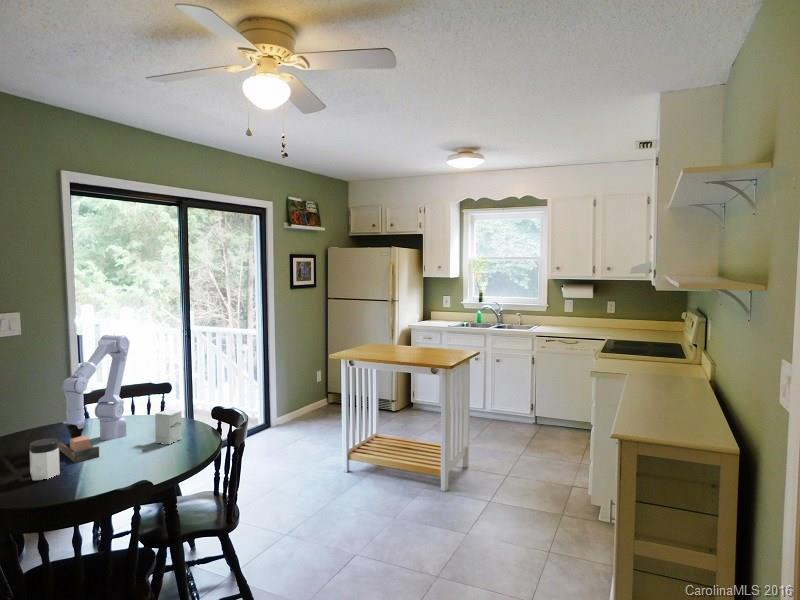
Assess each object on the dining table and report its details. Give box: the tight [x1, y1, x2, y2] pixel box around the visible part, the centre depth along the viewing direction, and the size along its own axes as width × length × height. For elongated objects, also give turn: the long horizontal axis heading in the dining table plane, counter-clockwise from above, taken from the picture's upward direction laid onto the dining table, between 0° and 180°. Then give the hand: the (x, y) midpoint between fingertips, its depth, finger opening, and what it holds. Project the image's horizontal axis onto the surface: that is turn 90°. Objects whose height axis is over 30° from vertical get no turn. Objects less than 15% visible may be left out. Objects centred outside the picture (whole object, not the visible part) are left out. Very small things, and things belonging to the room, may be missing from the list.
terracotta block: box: [69, 435, 91, 451], centre depth 197 cm, size 5×6×6 cm
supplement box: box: [154, 409, 183, 445], centre depth 215 cm, size 7×7×13 cm
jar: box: [29, 437, 61, 481], centre depth 179 cm, size 9×8×12 cm
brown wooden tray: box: [58, 441, 102, 466], centre depth 199 cm, size 12×22×5 cm, turn 48°
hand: (76, 442), depth 200 cm, fingers closed
